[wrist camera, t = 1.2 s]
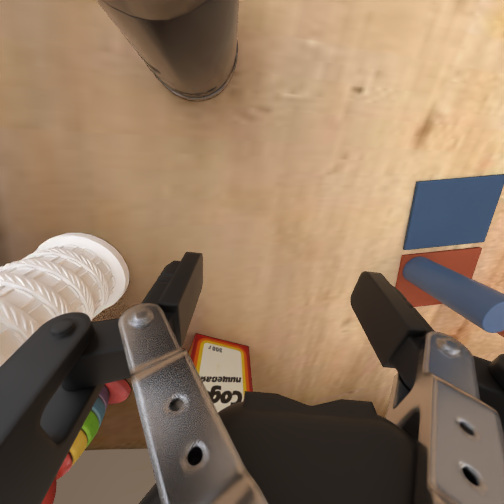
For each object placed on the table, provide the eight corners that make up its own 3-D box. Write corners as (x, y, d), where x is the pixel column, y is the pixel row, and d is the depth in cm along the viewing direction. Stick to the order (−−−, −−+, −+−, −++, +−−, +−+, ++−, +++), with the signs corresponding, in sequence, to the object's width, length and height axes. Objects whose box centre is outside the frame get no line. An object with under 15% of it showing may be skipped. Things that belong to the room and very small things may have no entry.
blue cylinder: (405, 257, 34) (490, 302, 23) (432, 254, 34) (529, 297, 23) (400, 282, 35) (477, 335, 24) (425, 279, 36) (513, 330, 24)
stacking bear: (80, 408, 40) (-26, 579, 23) (45, 371, 36) (-111, 542, 20) (135, 392, 40) (67, 553, 23) (106, 353, 36) (-1, 511, 19)
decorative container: (126, 236, 29) (-14, 329, 13) (131, 308, 33) (31, 451, 17) (30, 227, 28) (-274, 319, 11) (48, 304, 32) (-155, 455, 15)
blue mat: (416, 181, 30) (418, 181, 30) (504, 174, 31) (507, 174, 30) (403, 249, 34) (404, 250, 33) (481, 241, 34) (484, 242, 34)
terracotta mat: (401, 255, 34) (403, 256, 34) (479, 247, 35) (482, 247, 34) (391, 308, 38) (392, 309, 37) (461, 299, 38) (463, 301, 38)
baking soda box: (184, 361, 38) (154, 486, 23) (195, 333, 36) (170, 449, 21) (235, 372, 40) (237, 493, 25) (248, 346, 38) (259, 461, 23)
